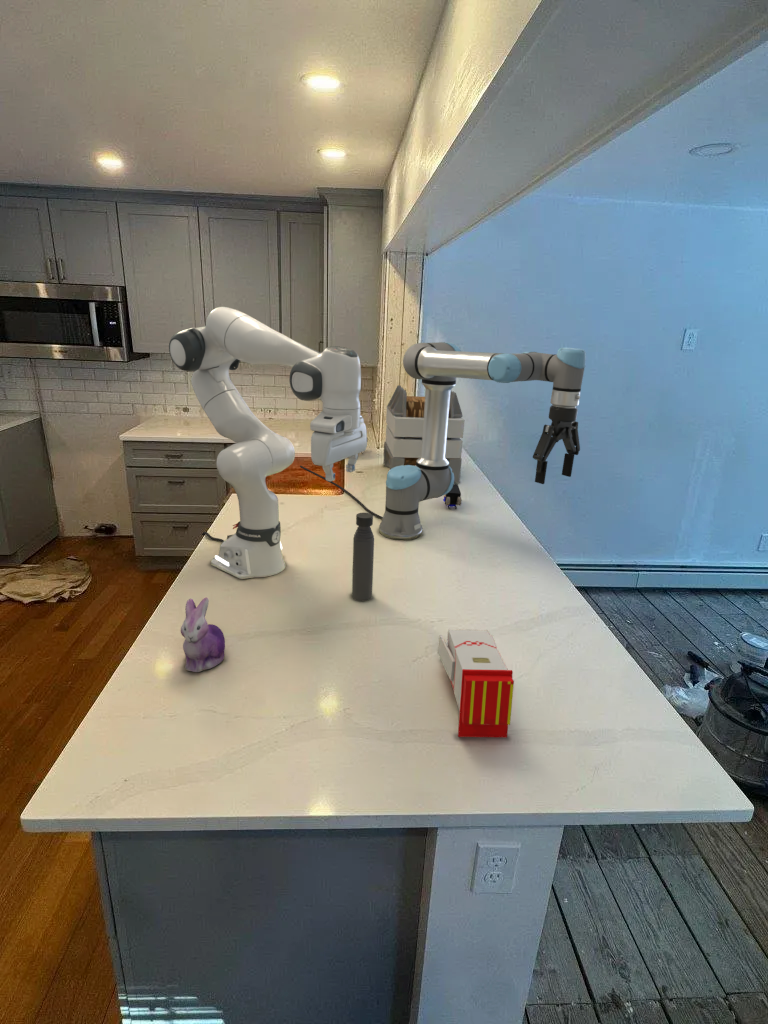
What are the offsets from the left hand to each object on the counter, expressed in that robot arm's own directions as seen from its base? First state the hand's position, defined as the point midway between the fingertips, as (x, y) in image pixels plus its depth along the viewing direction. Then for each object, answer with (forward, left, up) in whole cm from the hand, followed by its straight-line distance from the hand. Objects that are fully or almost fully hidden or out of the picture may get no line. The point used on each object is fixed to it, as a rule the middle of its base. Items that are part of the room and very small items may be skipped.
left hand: (340, 476), depth 137 cm
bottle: (+2, +8, -36) cm, 37 cm away
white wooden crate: (-35, +132, -36) cm, 141 cm away
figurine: (-12, -36, -36) cm, 52 cm away
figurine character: (-4, +95, -36) cm, 102 cm away
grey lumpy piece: (-79, +146, -36) cm, 169 cm away
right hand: (+41, +51, -6) cm, 66 cm away
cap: (+2, +8, -13) cm, 15 cm away
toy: (+42, -16, -36) cm, 58 cm away
